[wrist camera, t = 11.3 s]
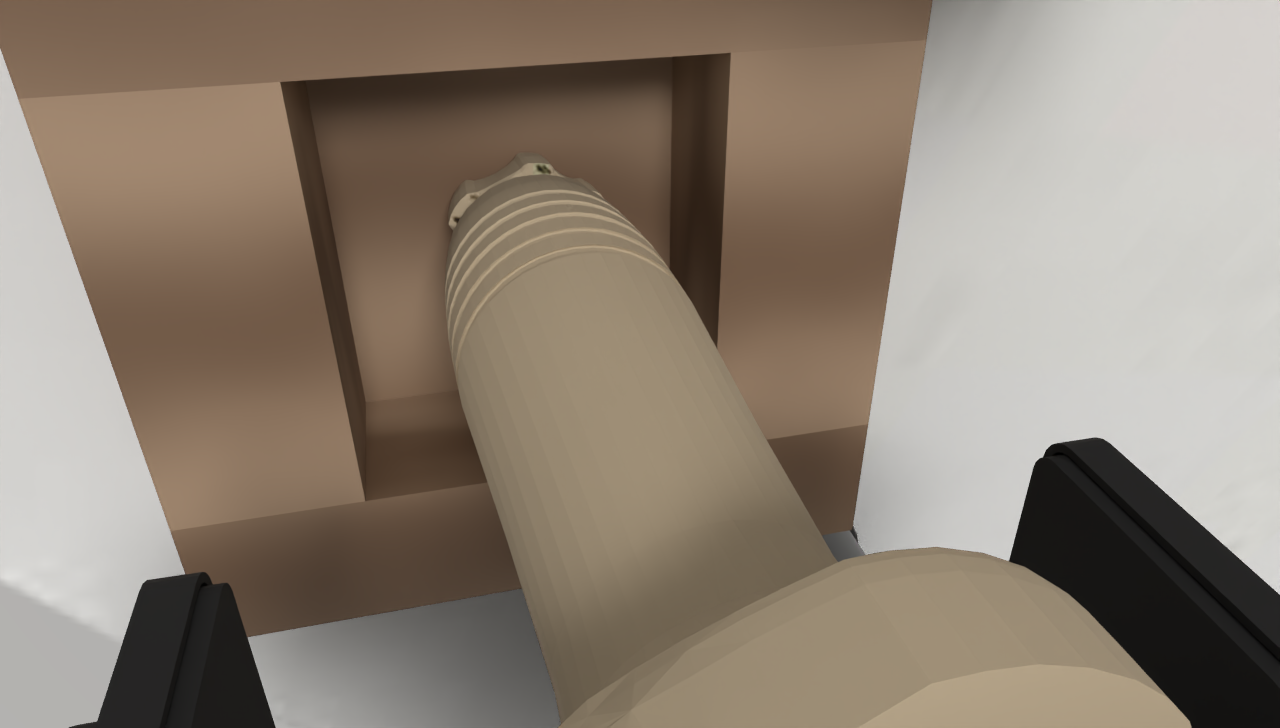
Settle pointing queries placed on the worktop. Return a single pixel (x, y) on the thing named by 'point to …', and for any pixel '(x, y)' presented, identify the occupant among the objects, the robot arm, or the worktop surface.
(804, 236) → the socket block
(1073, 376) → the worktop surface
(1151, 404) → the worktop surface
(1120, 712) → the handle
